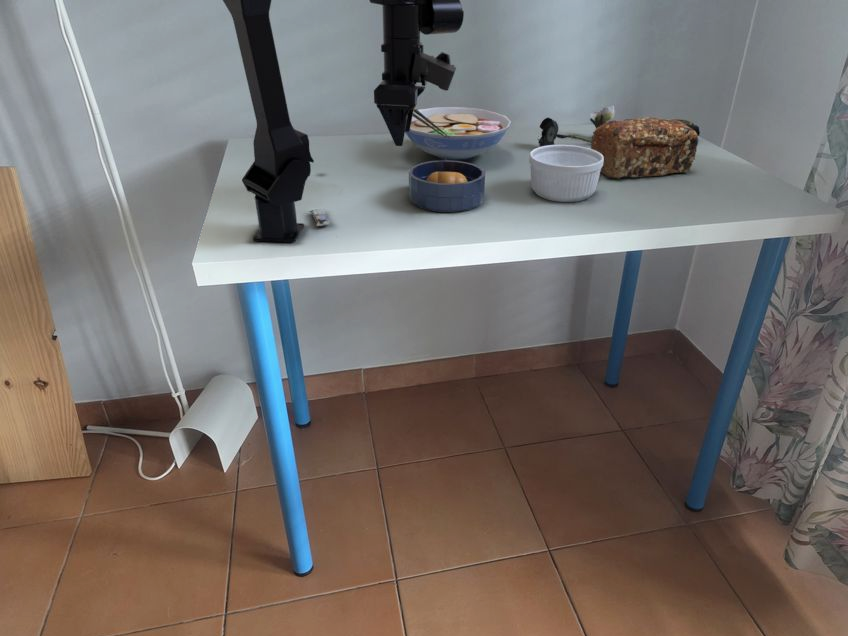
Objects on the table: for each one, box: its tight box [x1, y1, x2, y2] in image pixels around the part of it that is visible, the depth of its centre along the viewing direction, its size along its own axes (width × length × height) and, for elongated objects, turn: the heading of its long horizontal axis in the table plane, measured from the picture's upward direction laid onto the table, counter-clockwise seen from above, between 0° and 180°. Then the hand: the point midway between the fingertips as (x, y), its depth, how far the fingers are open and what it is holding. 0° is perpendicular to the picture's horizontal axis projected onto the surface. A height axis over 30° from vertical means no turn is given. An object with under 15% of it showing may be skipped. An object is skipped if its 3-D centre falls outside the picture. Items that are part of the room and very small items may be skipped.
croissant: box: [426, 172, 467, 184], centre depth 118 cm, size 5×9×4 cm, turn 88°
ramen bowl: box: [405, 106, 512, 162], centre depth 139 cm, size 25×23×8 cm
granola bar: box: [309, 208, 331, 227], centre depth 109 cm, size 7×2×1 cm, turn 21°
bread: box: [590, 117, 699, 180], centre depth 134 cm, size 19×11×10 cm, turn 108°
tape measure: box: [673, 118, 701, 137], centre depth 156 cm, size 7×7×4 cm
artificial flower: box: [537, 104, 616, 147], centre depth 150 cm, size 9×22×10 cm, turn 116°
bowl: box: [408, 159, 486, 213], centre depth 118 cm, size 13×13×5 cm
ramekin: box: [528, 144, 604, 203], centre depth 122 cm, size 13×13×7 cm
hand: (402, 138), depth 113 cm, fingers open, 9 cm apart
